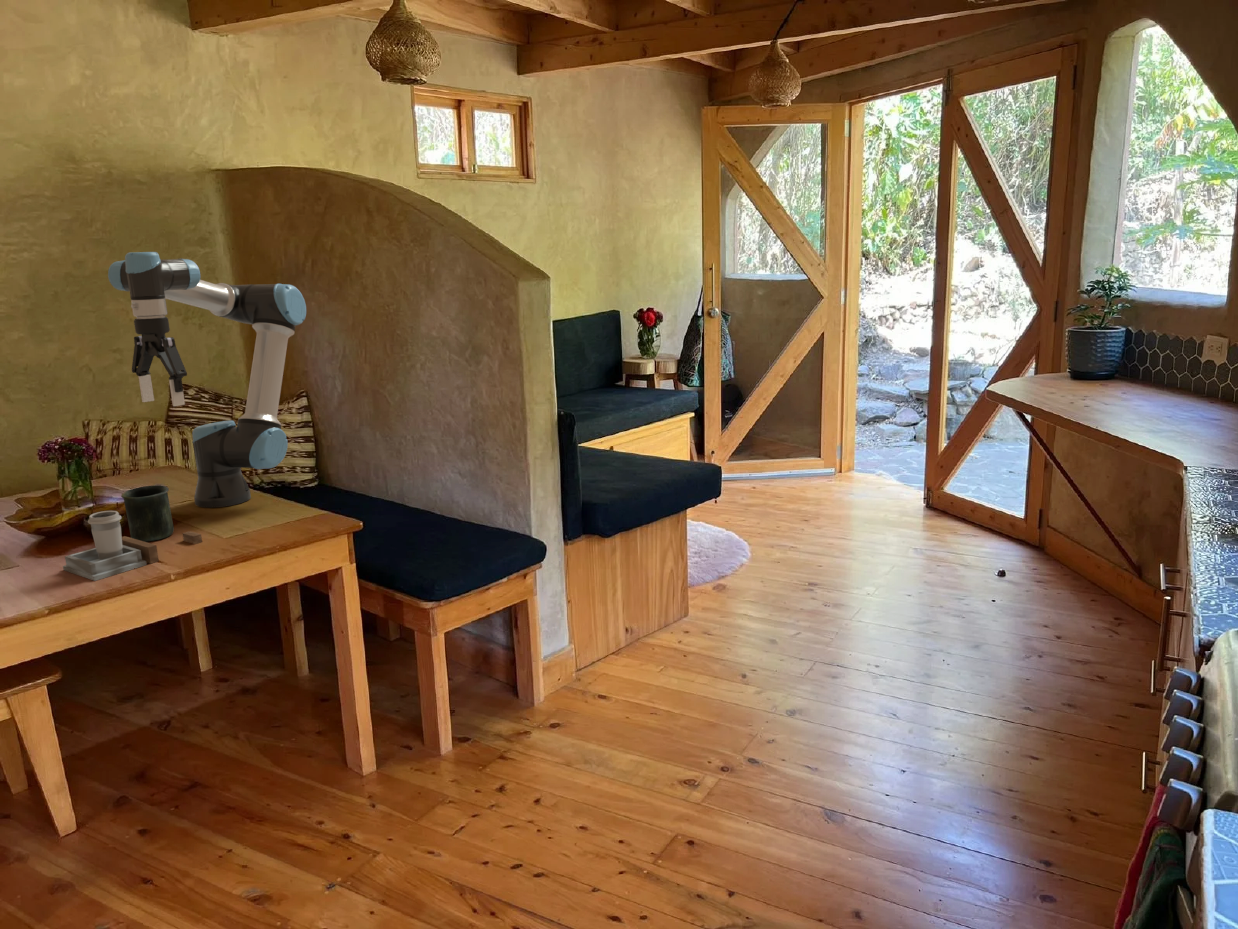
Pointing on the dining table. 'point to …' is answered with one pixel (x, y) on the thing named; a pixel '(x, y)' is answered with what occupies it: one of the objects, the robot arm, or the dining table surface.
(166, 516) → the mug
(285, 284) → the robot arm
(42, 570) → the dining table surface
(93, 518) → the cup
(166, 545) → the dining table surface
